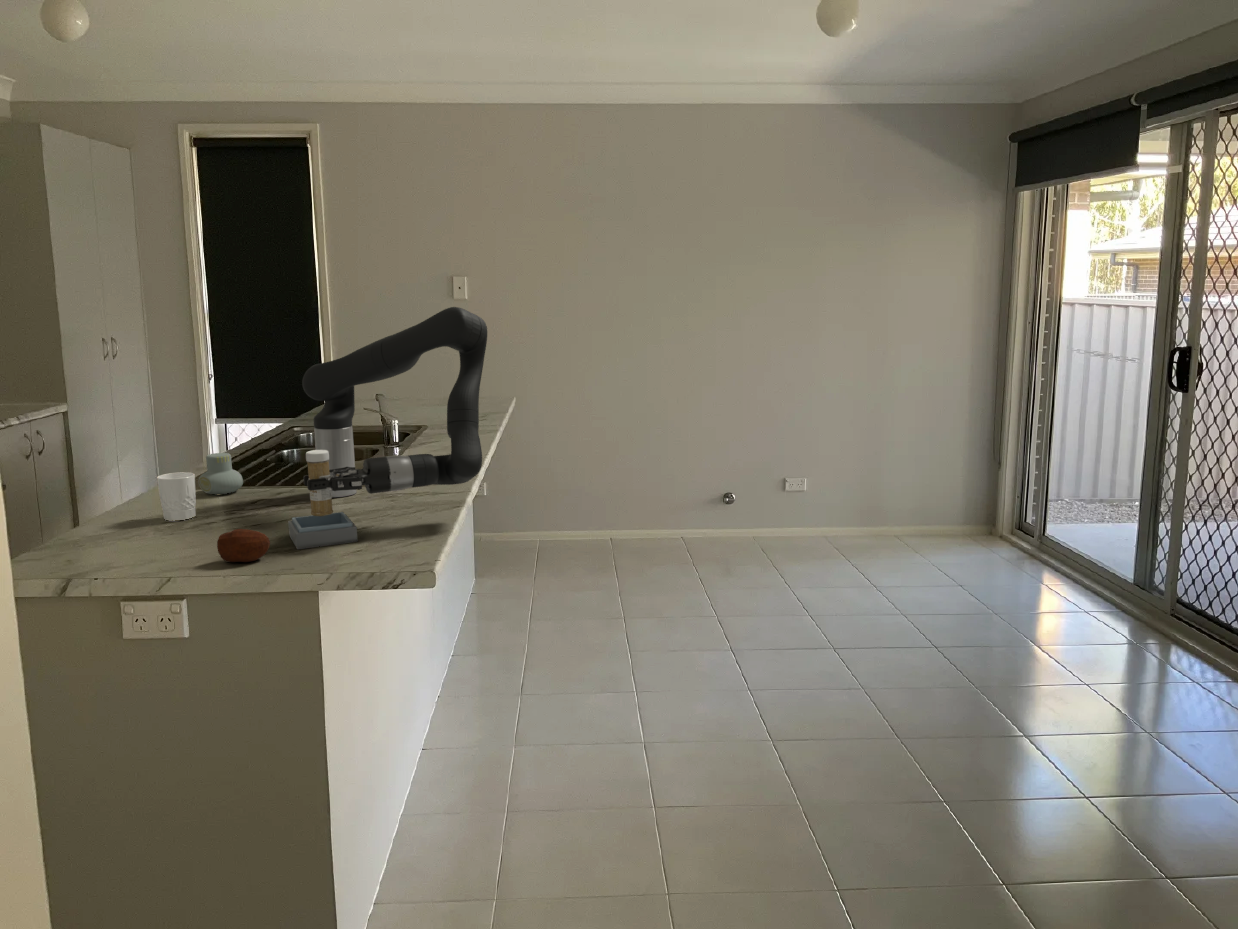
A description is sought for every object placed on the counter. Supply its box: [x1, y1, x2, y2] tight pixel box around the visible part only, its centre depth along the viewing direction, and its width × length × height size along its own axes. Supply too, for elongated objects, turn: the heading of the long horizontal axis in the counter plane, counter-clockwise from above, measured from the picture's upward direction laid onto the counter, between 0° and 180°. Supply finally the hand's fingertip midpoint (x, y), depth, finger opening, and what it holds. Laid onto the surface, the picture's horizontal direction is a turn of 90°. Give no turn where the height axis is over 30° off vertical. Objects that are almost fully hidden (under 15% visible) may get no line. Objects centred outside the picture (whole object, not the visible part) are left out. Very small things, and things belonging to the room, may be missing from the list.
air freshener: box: [198, 452, 244, 496], centre depth 247 cm, size 11×8×10 cm
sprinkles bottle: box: [305, 449, 334, 516], centre depth 200 cm, size 5×5×14 cm
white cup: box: [156, 471, 197, 522], centre depth 221 cm, size 8×8×10 cm
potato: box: [216, 528, 271, 563], centre depth 187 cm, size 7×9×6 cm
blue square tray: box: [287, 511, 359, 550], centre depth 202 cm, size 12×12×4 cm
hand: (306, 483), depth 199 cm, fingers closed on sprinkles bottle, 4 cm apart
